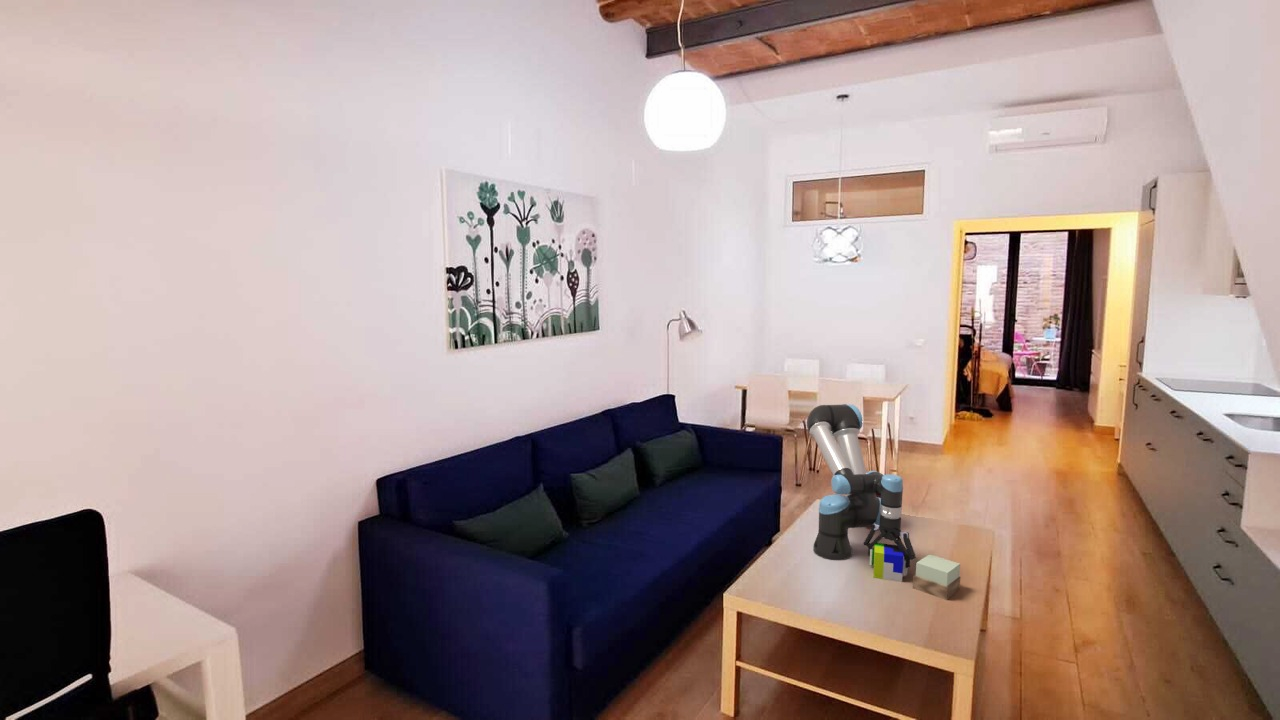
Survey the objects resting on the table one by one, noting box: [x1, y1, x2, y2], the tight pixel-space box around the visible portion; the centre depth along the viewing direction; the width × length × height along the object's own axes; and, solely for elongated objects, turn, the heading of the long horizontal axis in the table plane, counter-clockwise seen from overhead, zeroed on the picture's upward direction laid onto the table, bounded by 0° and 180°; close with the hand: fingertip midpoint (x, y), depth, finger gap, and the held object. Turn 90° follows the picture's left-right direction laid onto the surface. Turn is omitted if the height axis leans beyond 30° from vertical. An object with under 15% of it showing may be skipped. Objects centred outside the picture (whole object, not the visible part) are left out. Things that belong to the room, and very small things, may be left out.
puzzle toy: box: [872, 542, 904, 583], centre depth 241 cm, size 10×10×10 cm
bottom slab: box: [912, 573, 961, 601], centre depth 230 cm, size 12×12×5 cm
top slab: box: [915, 554, 961, 586], centre depth 229 cm, size 11×11×5 cm
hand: (887, 569), depth 243 cm, fingers closed on puzzle toy, 12 cm apart
